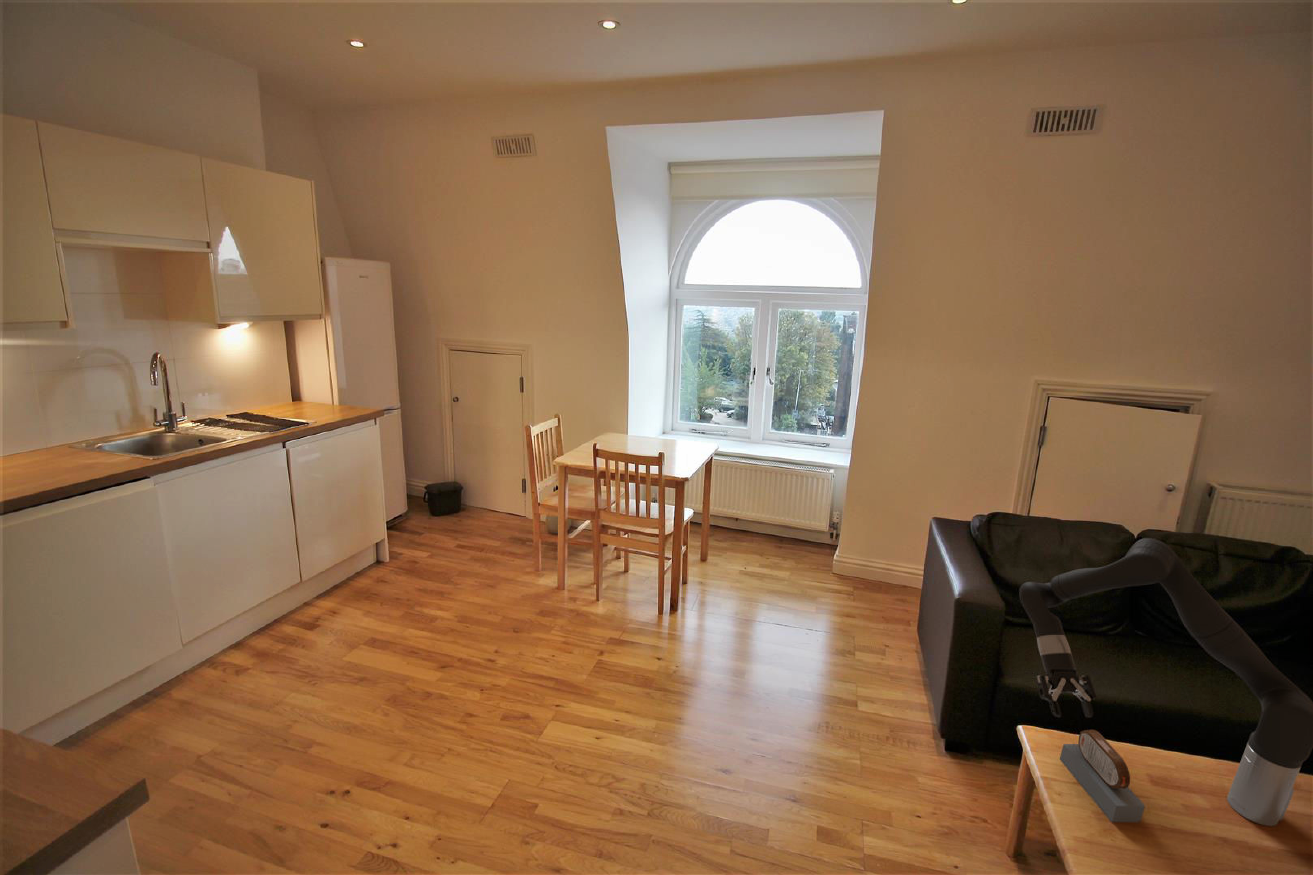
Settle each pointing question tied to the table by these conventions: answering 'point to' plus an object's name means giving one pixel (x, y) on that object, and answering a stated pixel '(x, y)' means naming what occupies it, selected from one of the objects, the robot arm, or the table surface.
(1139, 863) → the table surface
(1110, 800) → the base brick
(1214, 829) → the table surface
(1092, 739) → the tin
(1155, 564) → the robot arm
